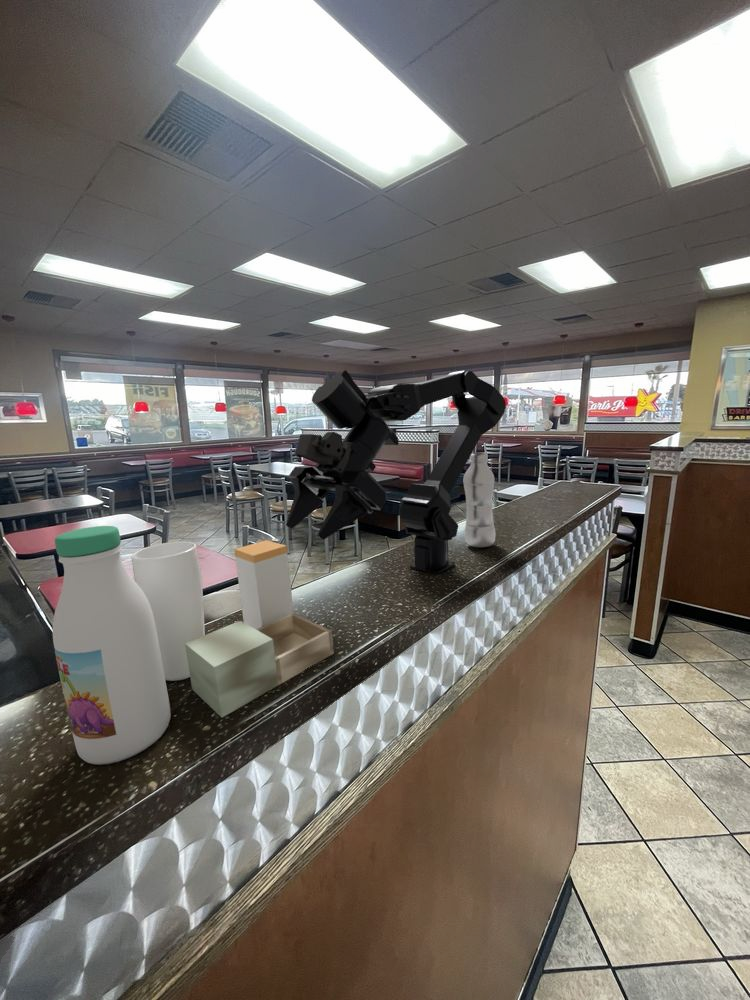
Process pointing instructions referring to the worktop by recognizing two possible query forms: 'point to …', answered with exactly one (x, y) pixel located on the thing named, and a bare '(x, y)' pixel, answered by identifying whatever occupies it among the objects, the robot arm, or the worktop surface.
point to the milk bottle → (107, 650)
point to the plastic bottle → (479, 502)
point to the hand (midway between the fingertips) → (303, 532)
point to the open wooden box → (253, 659)
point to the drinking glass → (172, 599)
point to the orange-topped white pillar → (264, 583)
